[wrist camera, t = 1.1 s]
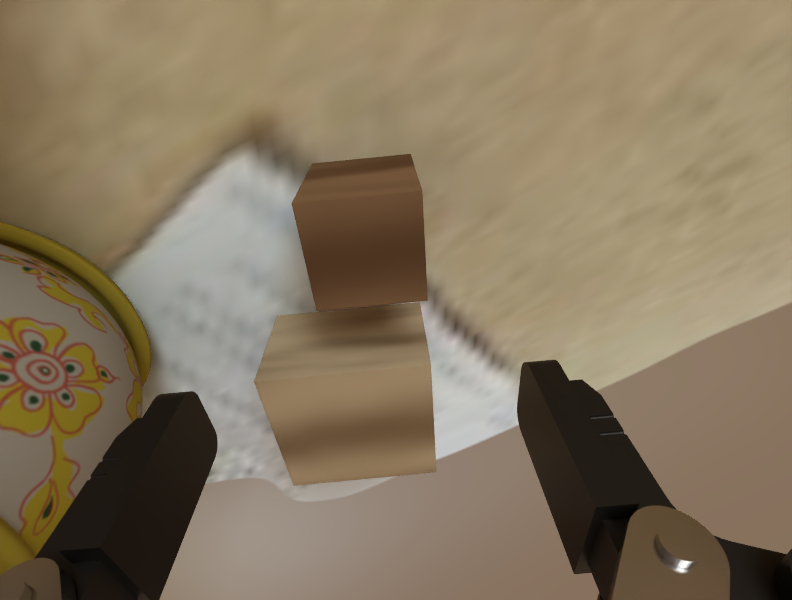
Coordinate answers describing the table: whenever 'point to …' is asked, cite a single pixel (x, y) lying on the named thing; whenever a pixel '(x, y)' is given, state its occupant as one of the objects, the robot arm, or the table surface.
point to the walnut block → (363, 232)
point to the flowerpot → (58, 382)
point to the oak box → (350, 393)
